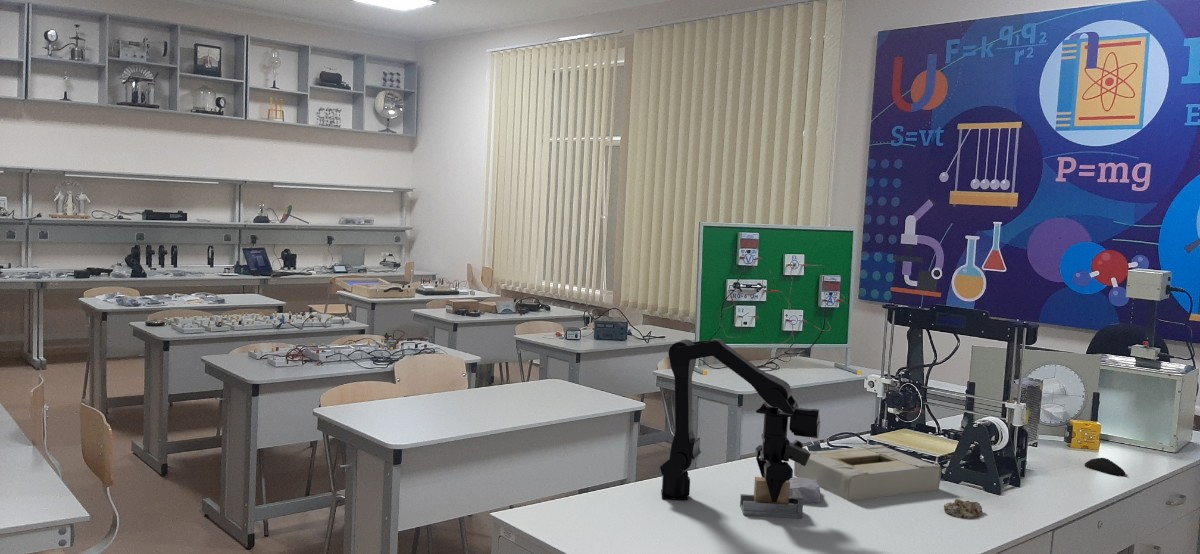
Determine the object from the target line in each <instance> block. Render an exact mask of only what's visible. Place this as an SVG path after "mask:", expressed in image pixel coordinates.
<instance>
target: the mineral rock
mask: <svg viewBox="0 0 1200 554" xmlns="http://www.w3.org/2000/svg"><path fill="white" fill-rule="evenodd" d="M943 508H944V510H943V511H944V512H945V513H947V514H949V515H951V516H952V517H955V518H959V519H960V518H961V519H968V520H969V519H972V518H977V517H980V516H982V514H983V507H982V505H981V504H980V503H979V502H978V501H970V500H964V501H963V500H962V499H959V498H956V499H955V500H954V502H947V503H945V504H944V505H943Z"/></svg>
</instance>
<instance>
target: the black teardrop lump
mask: <svg viewBox="0 0 1200 554" xmlns="http://www.w3.org/2000/svg"><path fill="white" fill-rule="evenodd" d="M1084 466H1085V468H1087V469H1090V470H1092V471H1096V472H1099V473H1103V474H1107V475H1110V476H1114V477H1124V478H1128V479H1130V477H1128V475H1126V472H1125V470H1124V469H1123V468H1122V467H1120V466H1119V465H1118V464H1116V463H1115V462H1114V461H1112V460H1111V459H1108V458H1105V457H1097V458H1092V459H1088V460H1087V461H1086V462H1085V463H1084Z"/></svg>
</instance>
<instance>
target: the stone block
mask: <svg viewBox="0 0 1200 554" xmlns="http://www.w3.org/2000/svg"><path fill="white" fill-rule="evenodd" d="M789 482H790V491H789V497H792V495H793V489H798V490H799V492H800V493H801V495H802V497H803V503H808V504H820V501H821V488H820V487H819V485H817V480H816V479H815V480H811V479H806V478H800V477H797V476H794V477H793V478H791V479H790V480H789Z"/></svg>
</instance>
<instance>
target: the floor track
mask: <svg viewBox="0 0 1200 554" xmlns="http://www.w3.org/2000/svg"><path fill="white" fill-rule="evenodd" d="M739 500H740V501H739V507H740V509H741V510H740V511H741V513H742V516H754V517H770V518H771V517H773V518H787V519H790V518H791V519H803V511H804V509H803V506H804V502H803V497H802V495H801V493H800V492H799V490H798V489H793V495H792V497H789V503H773V502H755V501H754V494H745V493H742V494H741V493H740V499H739Z"/></svg>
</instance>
